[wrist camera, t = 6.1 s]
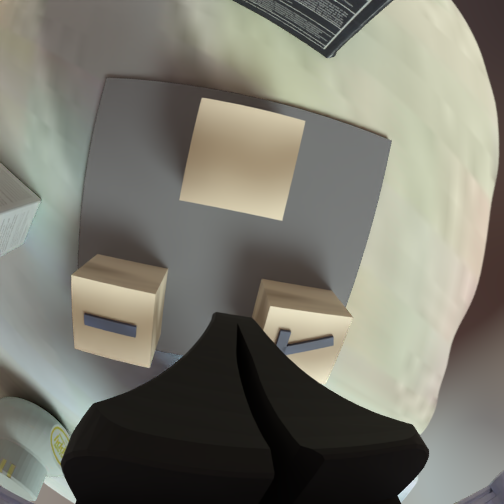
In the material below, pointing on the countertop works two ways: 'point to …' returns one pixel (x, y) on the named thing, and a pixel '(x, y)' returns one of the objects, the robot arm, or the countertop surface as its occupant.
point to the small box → (319, 19)
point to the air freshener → (29, 447)
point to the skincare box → (15, 211)
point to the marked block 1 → (118, 309)
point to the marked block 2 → (303, 324)
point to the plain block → (241, 159)
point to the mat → (218, 219)
